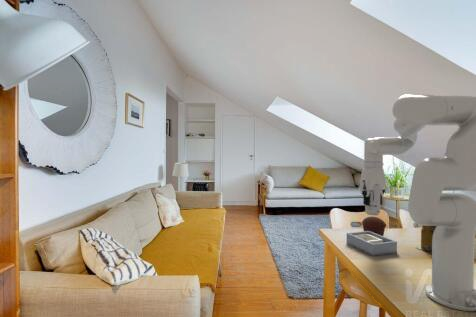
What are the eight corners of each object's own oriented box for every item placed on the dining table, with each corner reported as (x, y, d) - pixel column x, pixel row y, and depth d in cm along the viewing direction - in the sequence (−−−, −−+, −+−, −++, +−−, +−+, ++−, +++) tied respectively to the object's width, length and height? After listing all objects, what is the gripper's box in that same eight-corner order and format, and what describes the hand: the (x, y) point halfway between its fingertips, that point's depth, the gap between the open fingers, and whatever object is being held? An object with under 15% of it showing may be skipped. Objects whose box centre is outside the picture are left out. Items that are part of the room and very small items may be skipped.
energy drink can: (362, 213, 116) (363, 181, 116) (368, 211, 120) (368, 180, 120) (376, 216, 112) (377, 182, 111) (382, 214, 116) (382, 181, 115)
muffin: (356, 234, 136) (356, 215, 135) (371, 231, 140) (371, 214, 140) (376, 241, 125) (376, 221, 125) (391, 238, 129) (391, 219, 129)
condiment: (428, 246, 118) (429, 221, 117) (446, 253, 109) (447, 226, 109) (415, 247, 116) (415, 222, 116) (432, 255, 108) (433, 227, 108)
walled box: (396, 253, 110) (397, 241, 110) (372, 256, 106) (372, 244, 106) (368, 240, 125) (368, 230, 125) (346, 243, 122) (346, 233, 122)
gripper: (382, 164, 121) (381, 202, 122) (351, 165, 117) (351, 203, 117) (395, 165, 114) (394, 205, 114) (363, 166, 109) (362, 207, 110)
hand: (372, 204), depth 116 cm, fingers closed on energy drink can, 6 cm apart
